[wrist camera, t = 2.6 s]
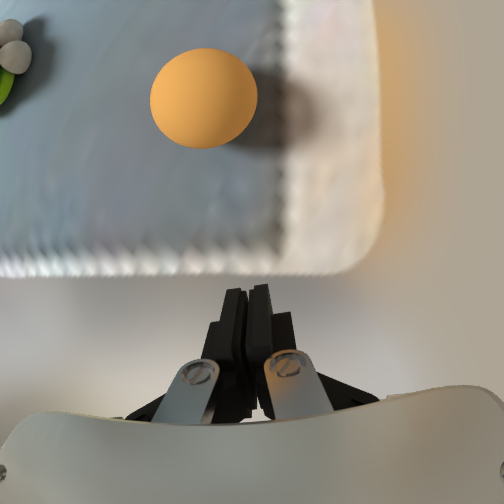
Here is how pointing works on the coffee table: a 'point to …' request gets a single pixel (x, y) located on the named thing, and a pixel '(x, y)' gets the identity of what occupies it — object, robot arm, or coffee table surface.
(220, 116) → the ball
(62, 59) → the coffee table surface
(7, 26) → the multicolored petal flower toy
